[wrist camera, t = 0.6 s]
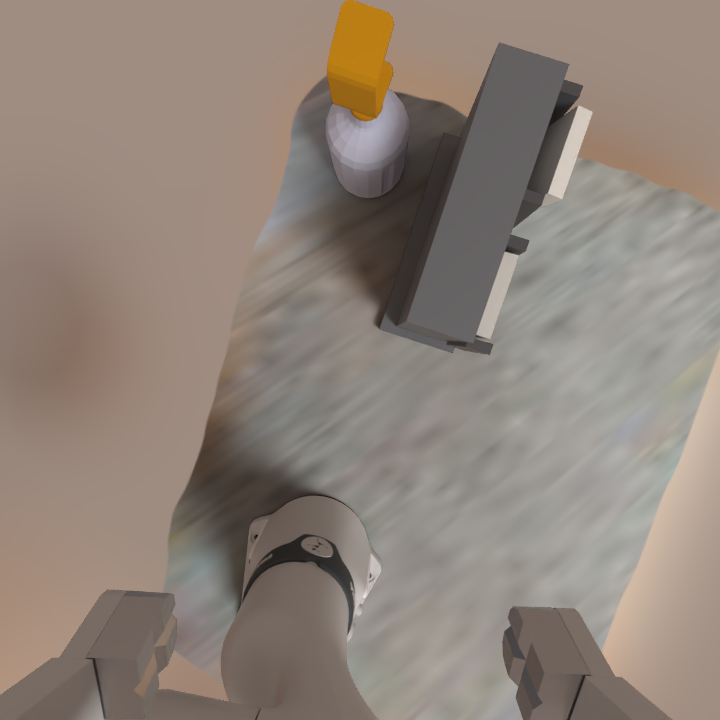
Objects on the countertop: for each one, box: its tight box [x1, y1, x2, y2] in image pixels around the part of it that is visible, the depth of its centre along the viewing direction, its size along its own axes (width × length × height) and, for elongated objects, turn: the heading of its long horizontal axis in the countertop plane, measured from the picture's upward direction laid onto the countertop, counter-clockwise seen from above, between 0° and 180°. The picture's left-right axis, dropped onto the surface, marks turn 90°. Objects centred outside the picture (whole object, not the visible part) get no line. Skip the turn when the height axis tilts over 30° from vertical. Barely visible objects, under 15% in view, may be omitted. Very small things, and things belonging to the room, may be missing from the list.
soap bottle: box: [326, 0, 409, 198], centre depth 43 cm, size 9×9×25 cm
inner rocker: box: [475, 252, 519, 342], centre depth 44 cm, size 8×2×10 cm, turn 162°
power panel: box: [380, 43, 583, 355], centre depth 46 cm, size 26×10×20 cm, turn 162°
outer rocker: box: [526, 106, 593, 209], centre depth 43 cm, size 8×2×10 cm, turn 162°
